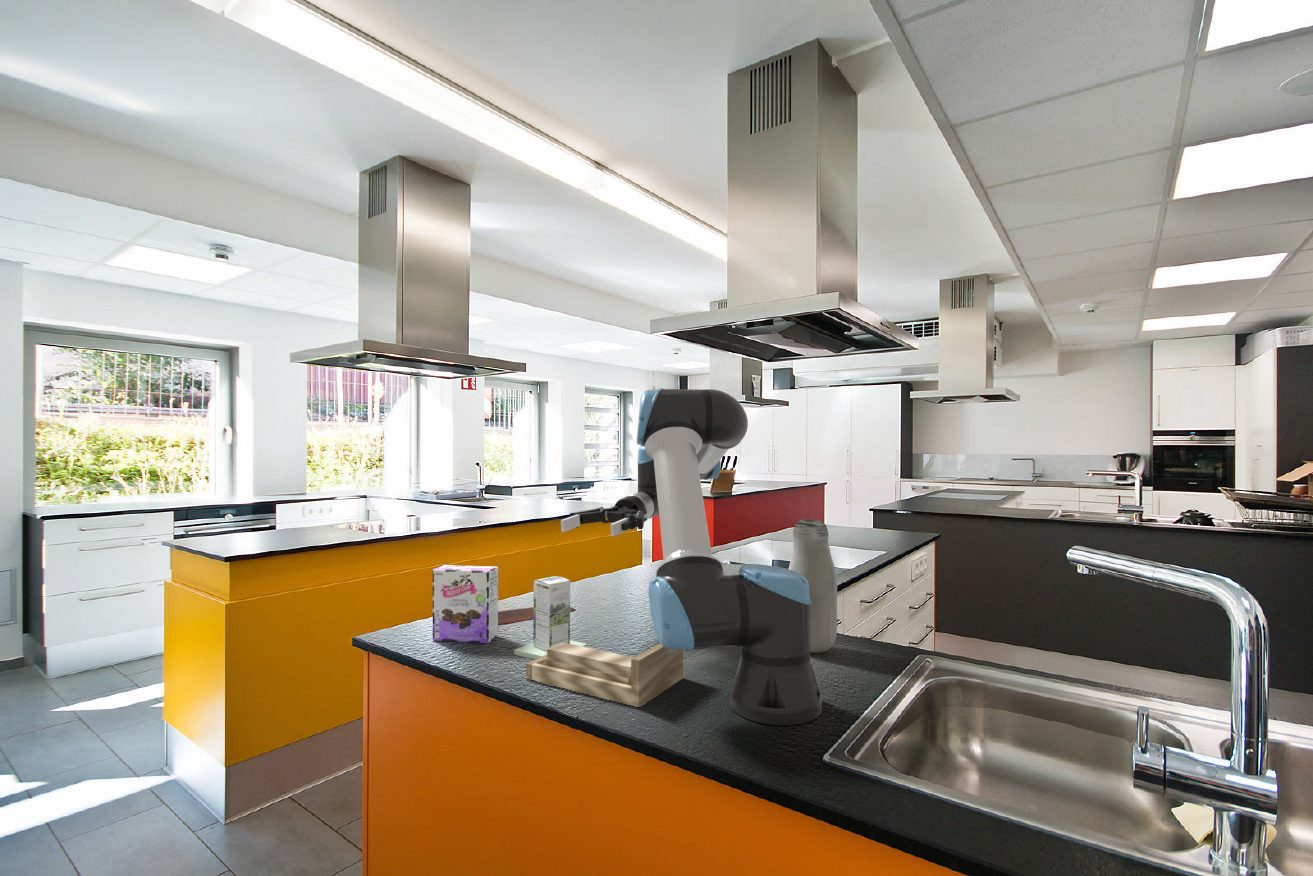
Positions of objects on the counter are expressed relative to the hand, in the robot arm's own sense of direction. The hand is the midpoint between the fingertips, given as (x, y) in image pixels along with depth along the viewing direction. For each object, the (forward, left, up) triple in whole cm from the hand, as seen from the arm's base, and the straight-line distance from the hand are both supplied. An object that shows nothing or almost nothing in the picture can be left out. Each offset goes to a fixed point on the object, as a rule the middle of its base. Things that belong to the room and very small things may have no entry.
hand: (586, 528), depth 140 cm
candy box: (+16, +24, -26) cm, 38 cm away
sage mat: (-3, +9, -25) cm, 27 cm away
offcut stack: (-24, +9, -26) cm, 37 cm away
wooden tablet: (+28, +6, -26) cm, 39 cm away
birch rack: (-23, +6, -25) cm, 35 cm away
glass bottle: (-30, -39, -26) cm, 56 cm away
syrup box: (-3, +9, -25) cm, 27 cm away
